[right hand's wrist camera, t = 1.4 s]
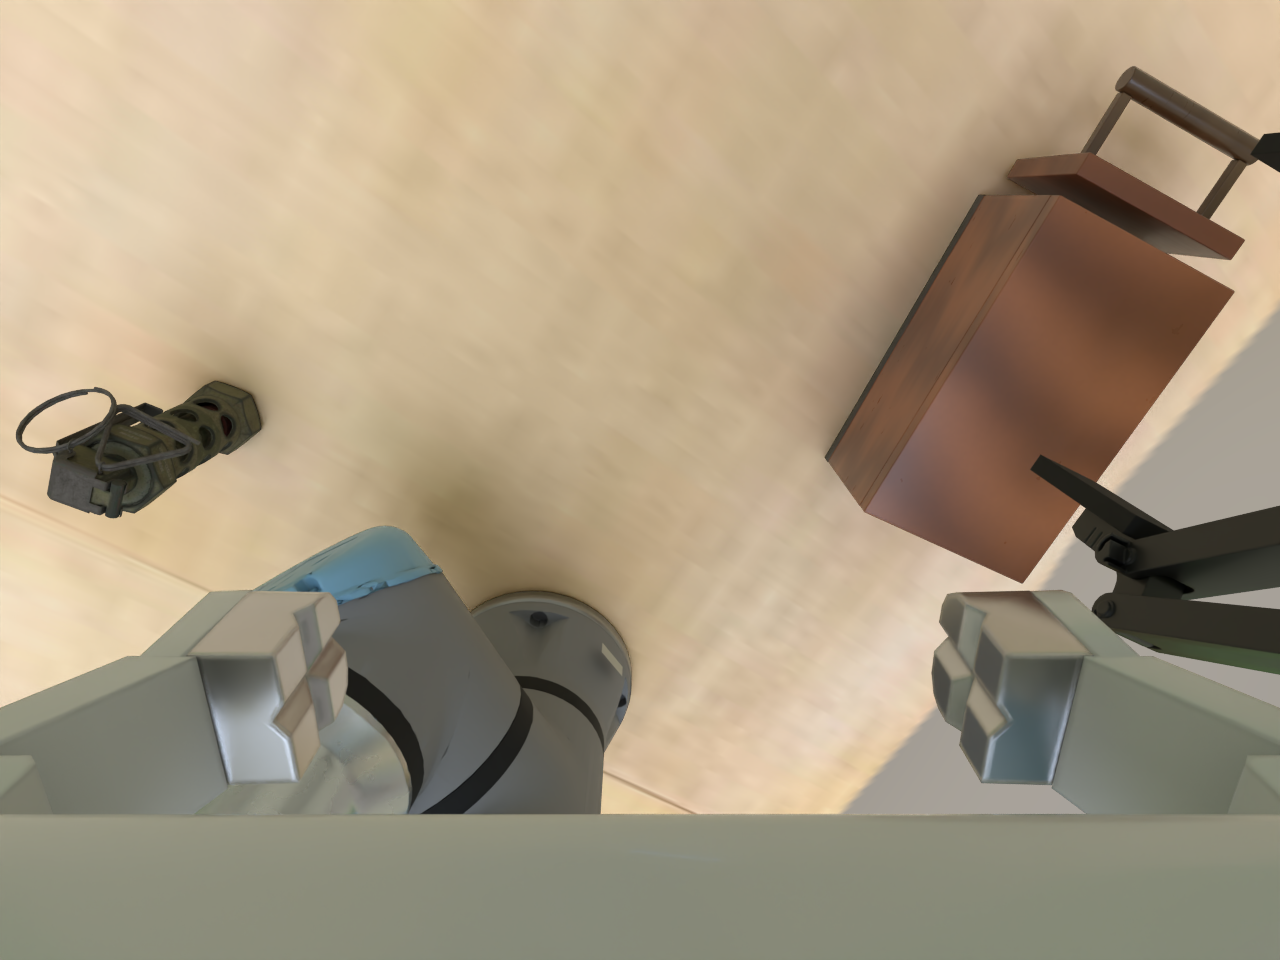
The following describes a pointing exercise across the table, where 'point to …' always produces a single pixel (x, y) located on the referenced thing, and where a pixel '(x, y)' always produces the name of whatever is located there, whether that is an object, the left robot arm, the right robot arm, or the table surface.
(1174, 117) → the drawer
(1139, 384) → the cabinet
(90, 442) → the grenade
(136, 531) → the table surface
